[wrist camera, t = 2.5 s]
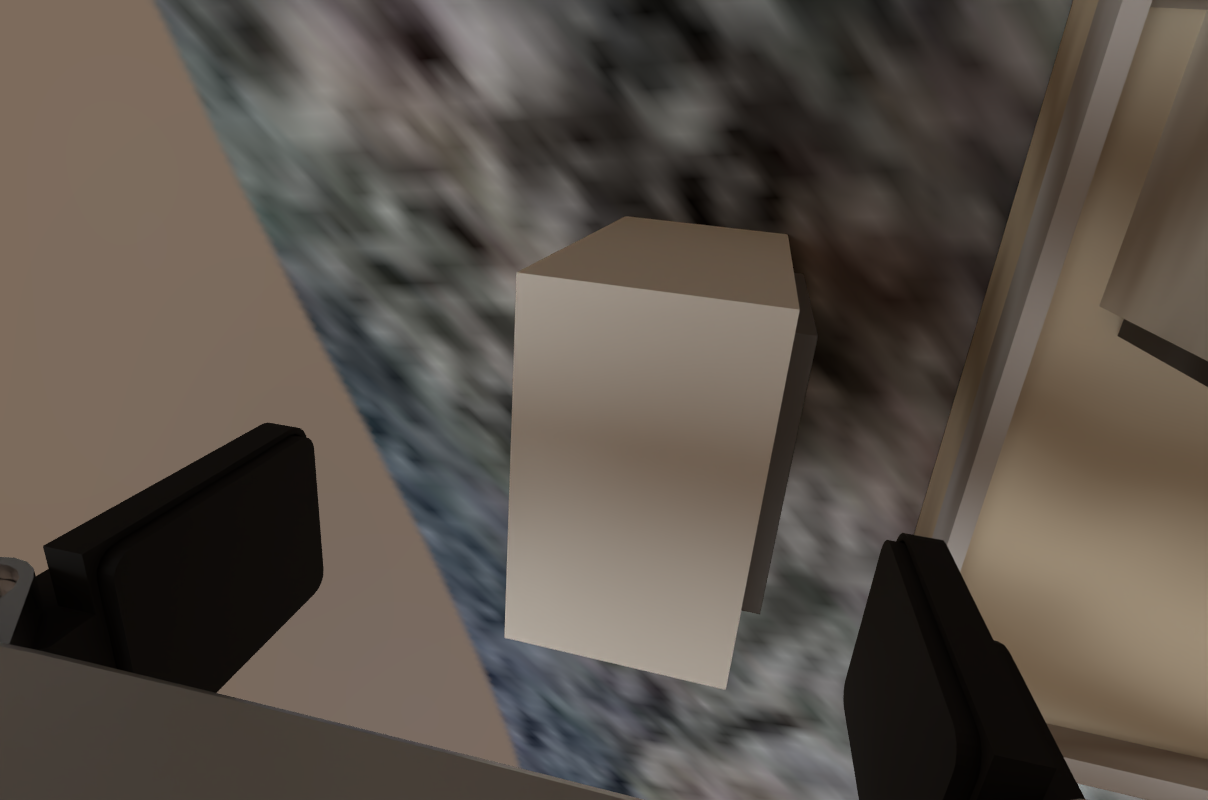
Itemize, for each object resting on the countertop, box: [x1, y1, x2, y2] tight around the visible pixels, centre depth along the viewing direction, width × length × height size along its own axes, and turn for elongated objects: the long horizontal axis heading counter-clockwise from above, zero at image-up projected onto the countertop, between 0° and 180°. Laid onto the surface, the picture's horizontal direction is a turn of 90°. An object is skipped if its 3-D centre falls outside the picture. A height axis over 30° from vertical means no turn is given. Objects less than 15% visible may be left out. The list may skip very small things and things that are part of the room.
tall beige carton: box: [505, 216, 818, 690], centre depth 16 cm, size 5×8×9 cm, turn 175°
